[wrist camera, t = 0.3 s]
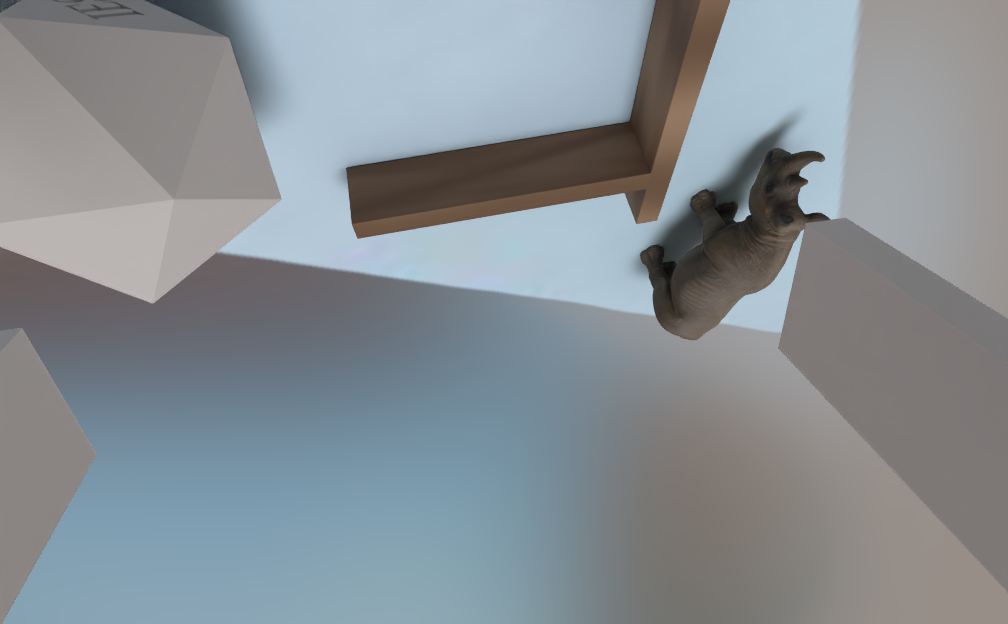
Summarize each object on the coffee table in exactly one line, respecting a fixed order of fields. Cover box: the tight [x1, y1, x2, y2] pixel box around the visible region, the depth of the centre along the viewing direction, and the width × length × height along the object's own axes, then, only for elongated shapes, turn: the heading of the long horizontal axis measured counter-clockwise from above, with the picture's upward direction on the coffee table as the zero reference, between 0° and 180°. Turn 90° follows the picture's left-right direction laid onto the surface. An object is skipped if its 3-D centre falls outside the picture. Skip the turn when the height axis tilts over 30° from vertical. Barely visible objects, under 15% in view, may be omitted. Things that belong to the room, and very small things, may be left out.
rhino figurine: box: [641, 148, 830, 340], centre depth 32 cm, size 4×14×6 cm, turn 160°
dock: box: [346, 0, 730, 239], centre depth 20 cm, size 20×14×3 cm
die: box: [0, 0, 281, 303], centre depth 18 cm, size 8×9×10 cm
